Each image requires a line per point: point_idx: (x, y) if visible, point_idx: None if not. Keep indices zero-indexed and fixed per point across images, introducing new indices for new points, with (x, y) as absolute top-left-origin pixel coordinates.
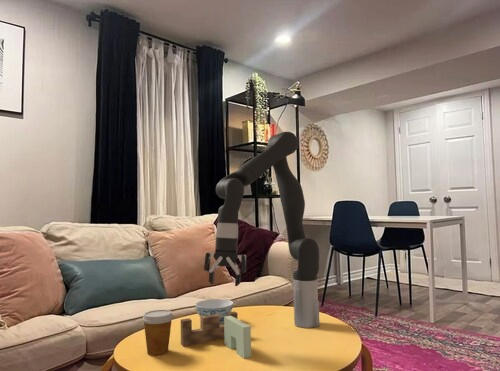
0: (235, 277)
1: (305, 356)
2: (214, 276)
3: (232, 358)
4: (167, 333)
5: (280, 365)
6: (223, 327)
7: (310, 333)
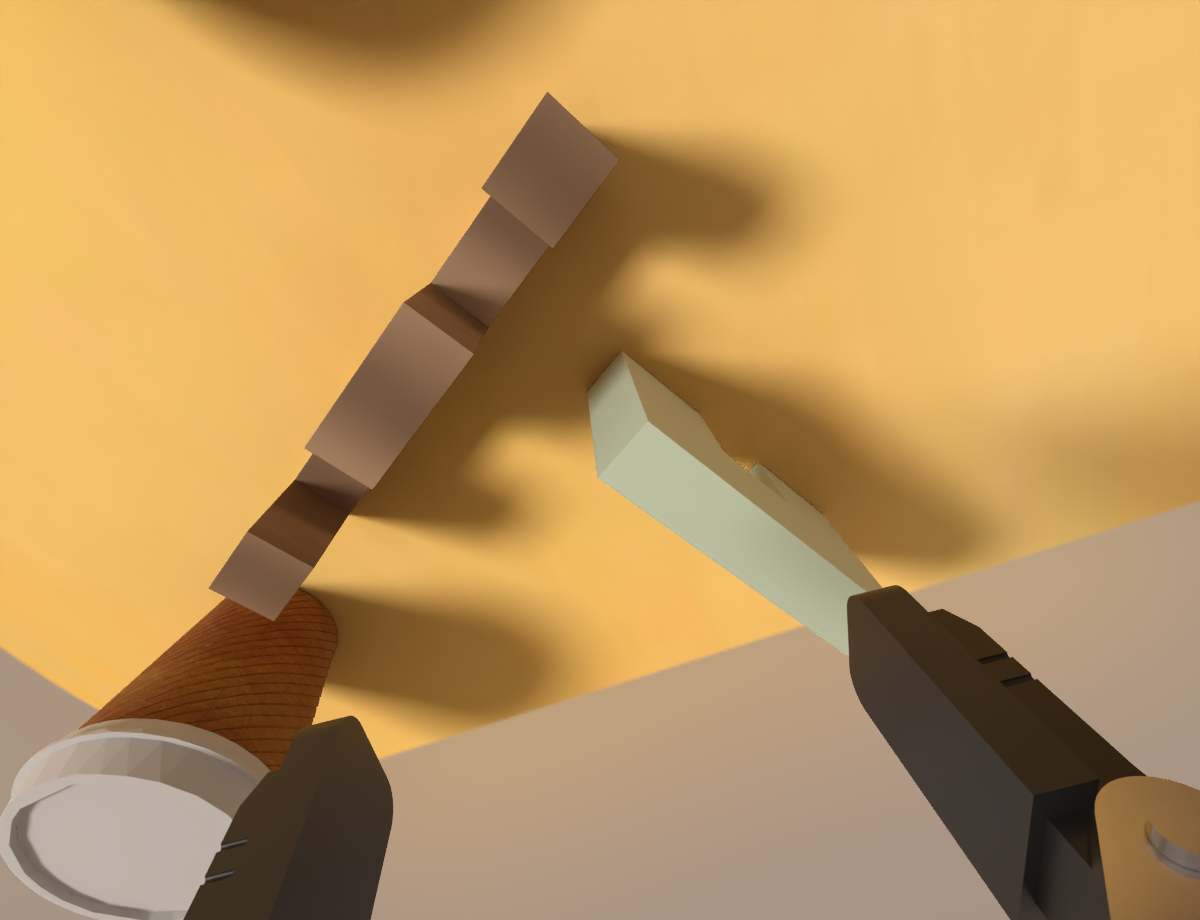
0: (968, 854)
1: (1139, 402)
2: (296, 861)
3: None
4: (307, 724)
5: (993, 556)
6: (512, 293)
7: None
